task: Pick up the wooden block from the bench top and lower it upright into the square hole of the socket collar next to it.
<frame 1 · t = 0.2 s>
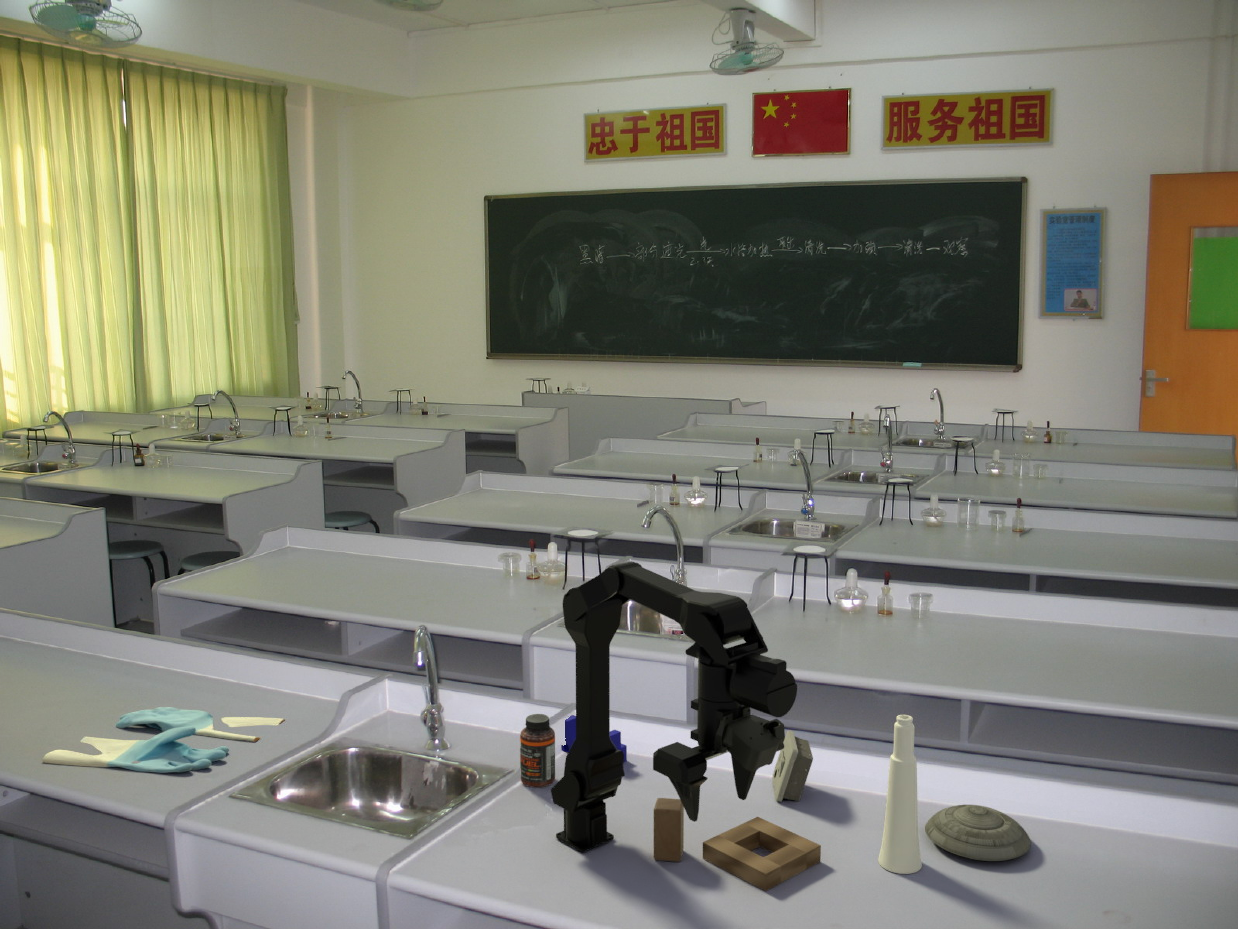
hand: (718, 809, 139), 14 cm above the counter, tool pointing down, fingers open, 9 cm apart
electrical switch: (790, 792, 177), on the counter
supplement bottle: (538, 782, 181), on the counter
socket collar: (761, 860, 154), on the counter
cosmetic bottle: (899, 865, 153), on the counter
flying saucer: (976, 845, 159), on the counter
rubber gloves: (170, 744, 200), on the counter
wooden block: (668, 856, 156), on the counter
cable clip: (593, 757, 192), on the counter
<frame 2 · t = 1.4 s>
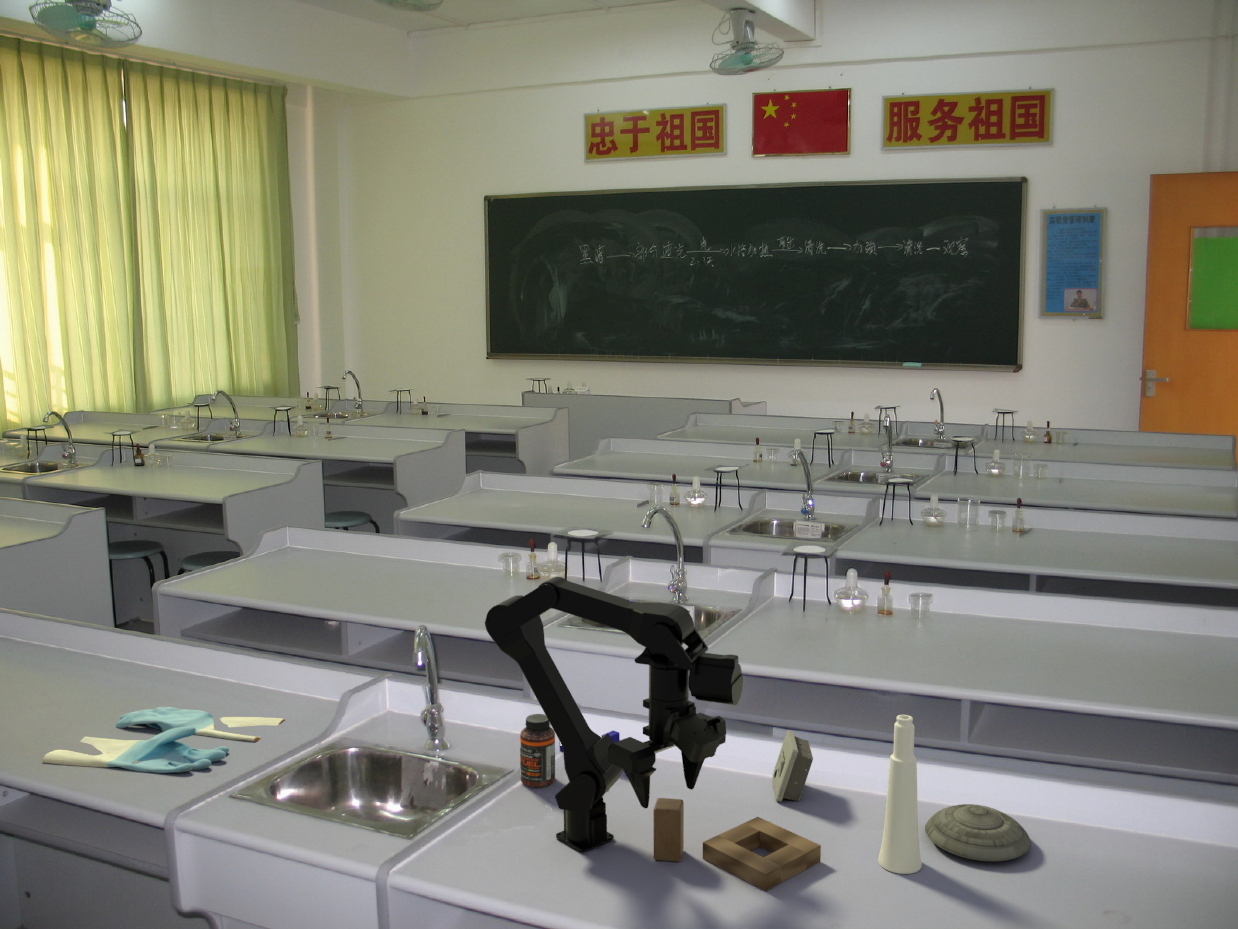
hand: (667, 797, 154), 9 cm above the counter, tool pointing down, fingers open, 9 cm apart
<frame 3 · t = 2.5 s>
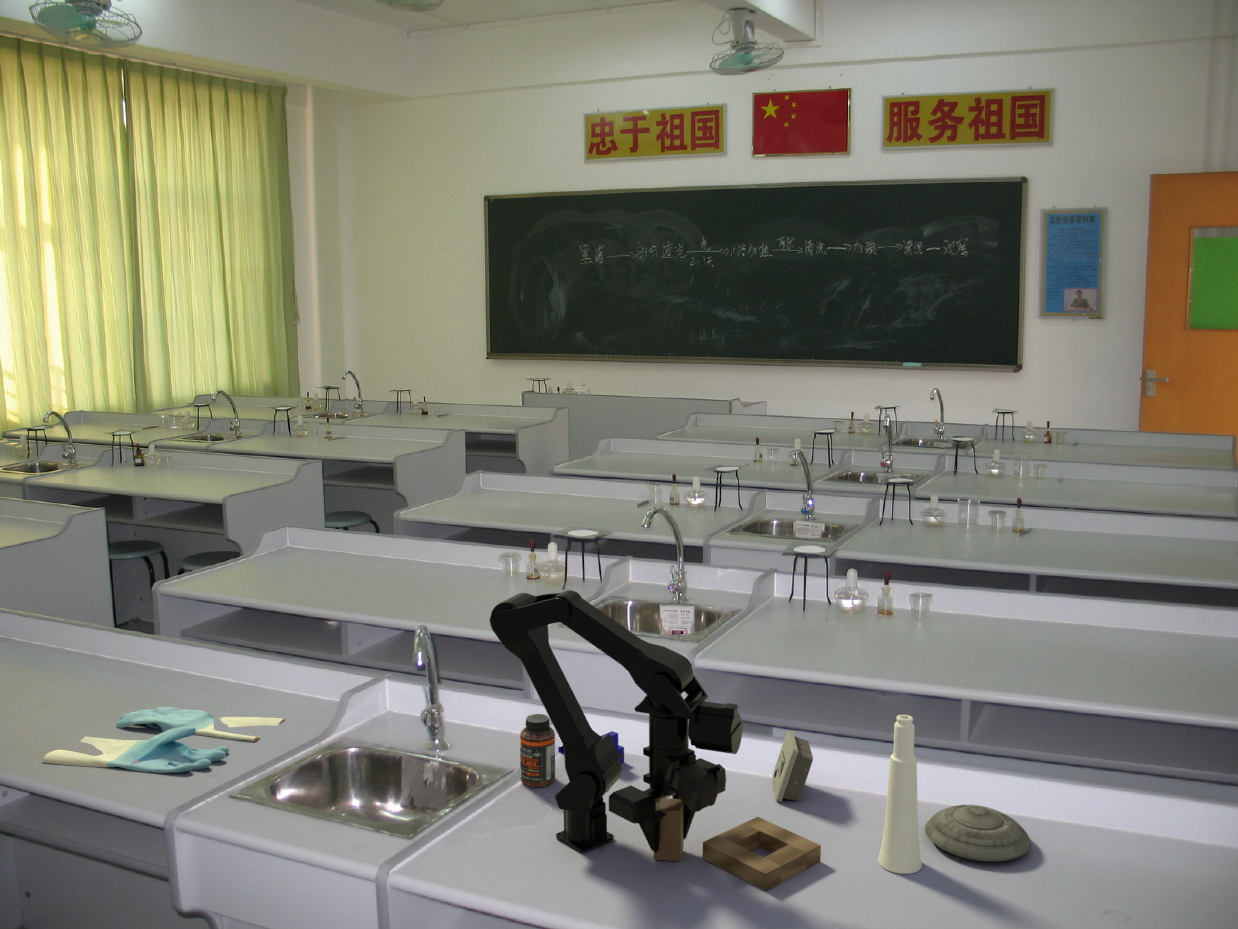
hand: (668, 844, 155), 2 cm above the counter, tool pointing down, fingers closed on wooden block, 5 cm apart
wooden block: (668, 856, 156), on the counter, touching gripper
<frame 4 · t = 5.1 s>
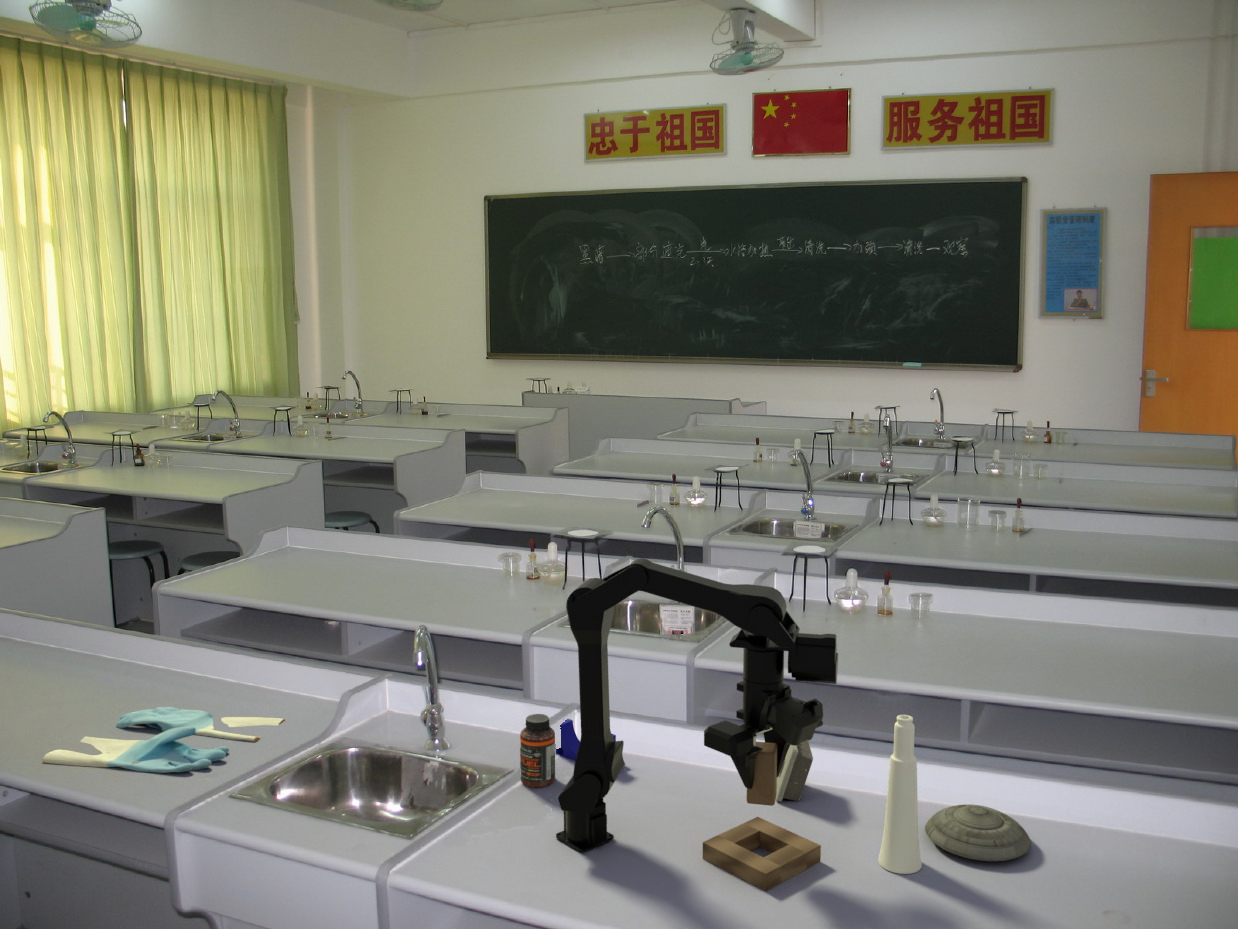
hand: (761, 782, 152), 12 cm above the counter, tool pointing down, fingers closed on wooden block, 5 cm apart
wooden block: (761, 801, 153), point 9 cm above the counter, touching gripper
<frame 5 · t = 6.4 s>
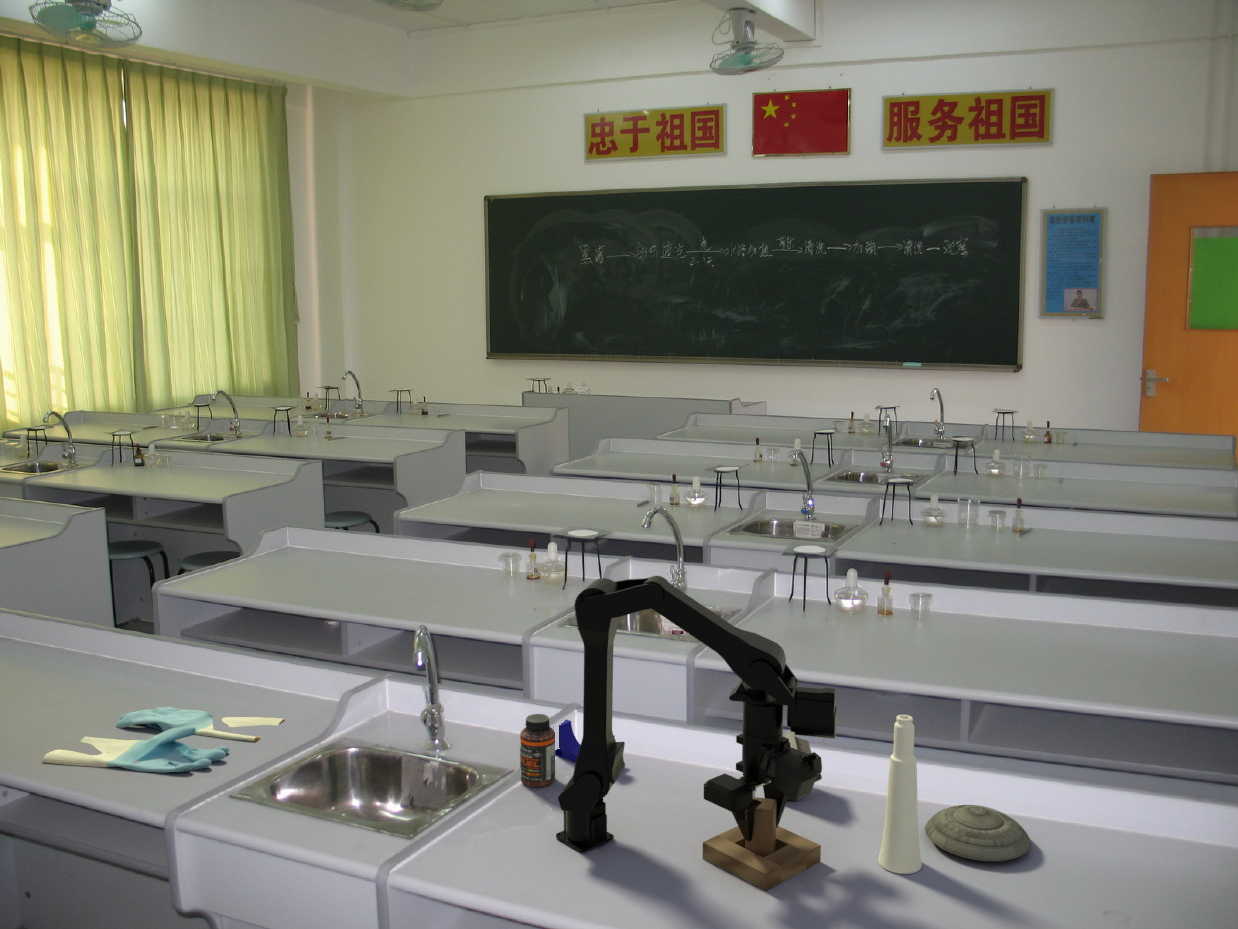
hand: (760, 834, 154), 4 cm above the counter, tool pointing down, fingers closed on wooden block, 5 cm apart
wooden block: (760, 856, 154), point 1 cm above the counter, touching gripper
when the fingers open (3 cm above the counter, at t = 7.5 s): wooden block stays where it is, resting in socket collar.
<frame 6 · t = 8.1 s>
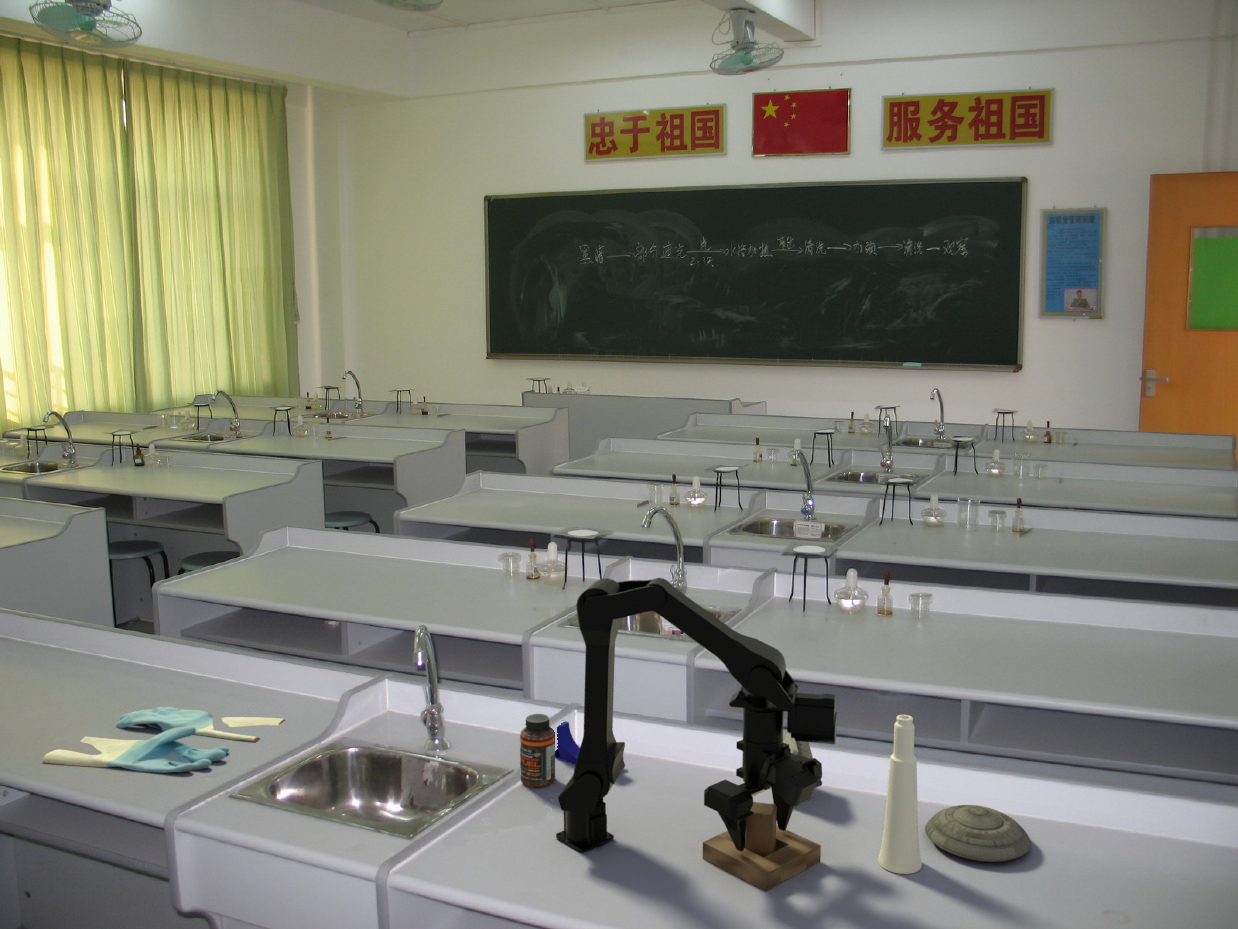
hand: (761, 840, 154), 3 cm above the counter, tool pointing down, fingers open, 9 cm apart
wooden block: (760, 861, 154), resting in socket collar
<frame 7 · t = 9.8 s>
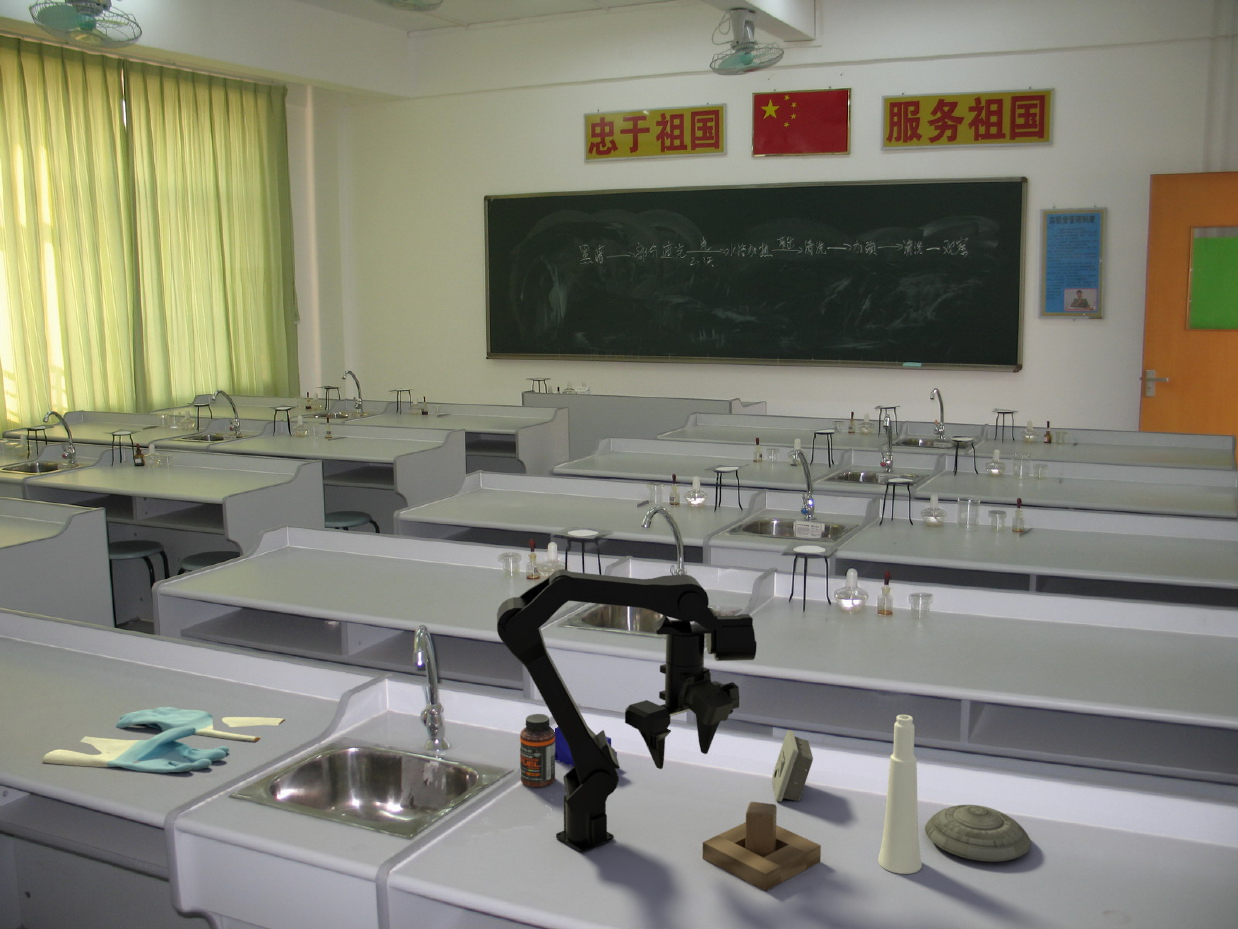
hand: (682, 760, 161), 12 cm above the counter, tool pointing down, fingers open, 9 cm apart
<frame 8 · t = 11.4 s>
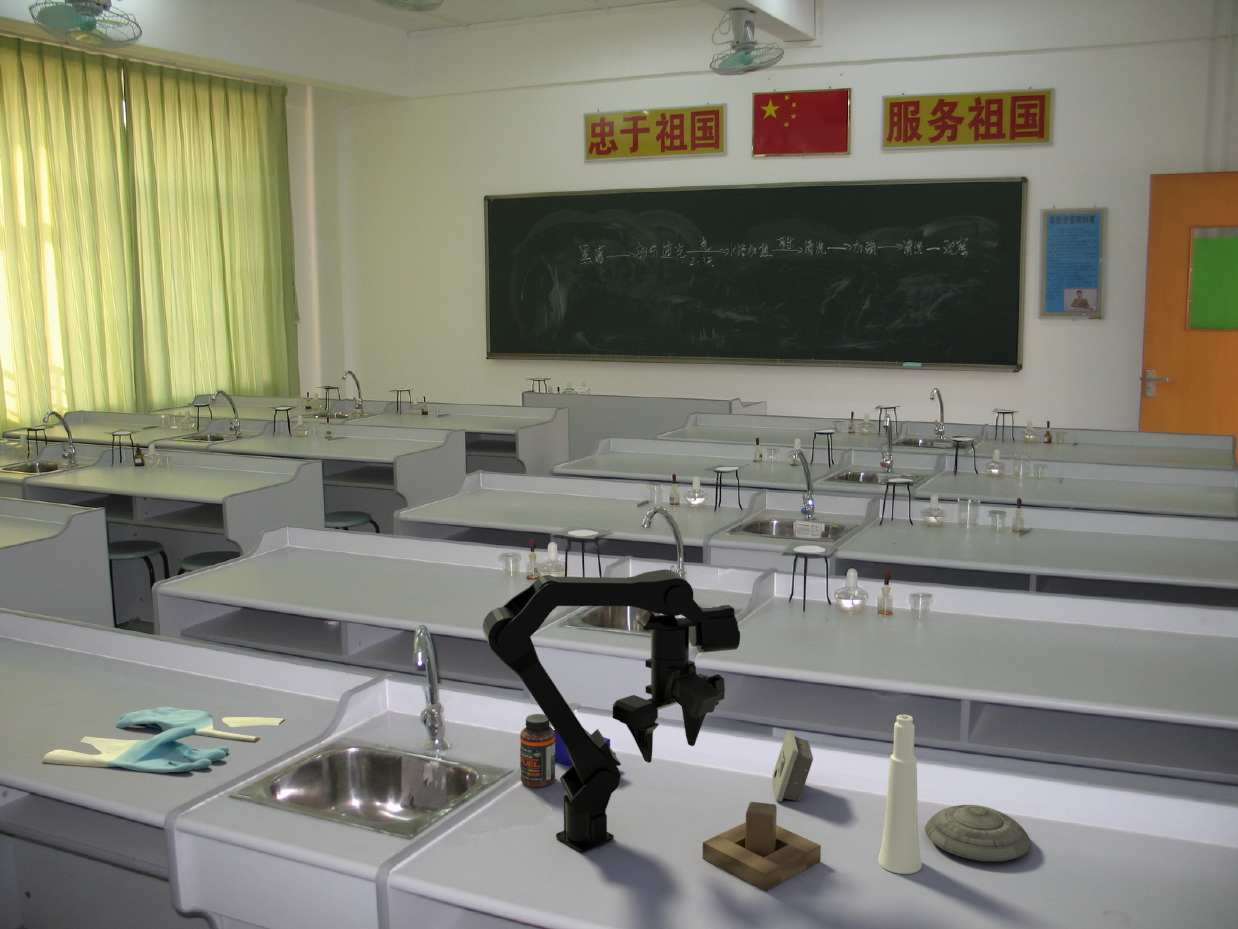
hand: (669, 753, 162), 12 cm above the counter, tool pointing down, fingers open, 9 cm apart
at the end: wooden block 0.1 cm off-centre on the socket collar, point 0.0 cm above the socket collar's base; wooden block tilted 0°; the gripper is holding nothing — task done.
